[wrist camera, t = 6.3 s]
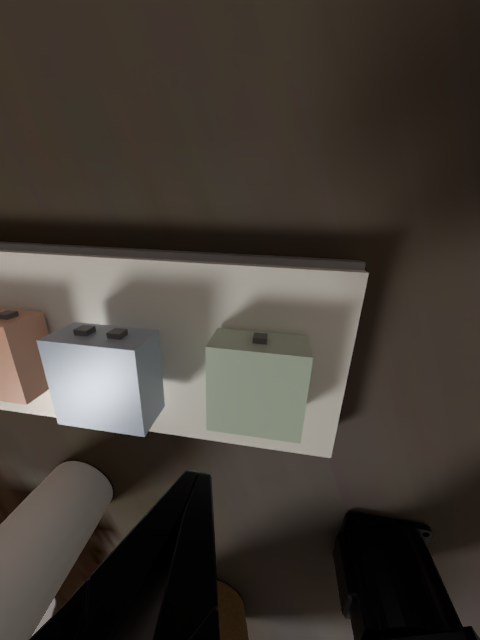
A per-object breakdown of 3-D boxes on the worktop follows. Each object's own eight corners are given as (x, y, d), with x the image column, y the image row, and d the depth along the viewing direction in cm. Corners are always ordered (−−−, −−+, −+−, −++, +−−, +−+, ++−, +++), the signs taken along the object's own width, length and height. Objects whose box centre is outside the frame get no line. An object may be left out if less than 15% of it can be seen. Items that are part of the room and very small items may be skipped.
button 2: (158, 324, 14) (133, 344, 12) (164, 406, 16) (144, 437, 14) (74, 317, 15) (34, 334, 12) (89, 395, 16) (57, 424, 14)
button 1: (308, 330, 14) (313, 351, 12) (297, 411, 16) (300, 443, 13) (217, 322, 15) (205, 341, 12) (217, 401, 16) (206, 430, 14)
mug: (97, 454, 24) (-64, 654, 13) (127, 506, 26) (10, 720, 15) (15, 464, 26) (-182, 640, 15) (48, 511, 28) (-104, 698, 17)
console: (356, 258, 15) (370, 264, 13) (324, 430, 19) (330, 458, 17) (-32, 238, 18) (-77, 240, 16) (15, 388, 23) (-16, 407, 20)
